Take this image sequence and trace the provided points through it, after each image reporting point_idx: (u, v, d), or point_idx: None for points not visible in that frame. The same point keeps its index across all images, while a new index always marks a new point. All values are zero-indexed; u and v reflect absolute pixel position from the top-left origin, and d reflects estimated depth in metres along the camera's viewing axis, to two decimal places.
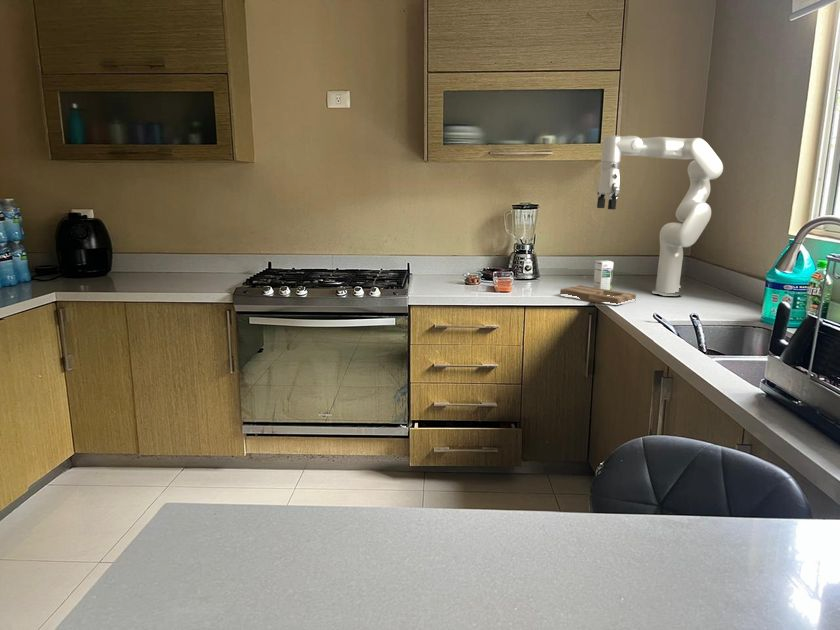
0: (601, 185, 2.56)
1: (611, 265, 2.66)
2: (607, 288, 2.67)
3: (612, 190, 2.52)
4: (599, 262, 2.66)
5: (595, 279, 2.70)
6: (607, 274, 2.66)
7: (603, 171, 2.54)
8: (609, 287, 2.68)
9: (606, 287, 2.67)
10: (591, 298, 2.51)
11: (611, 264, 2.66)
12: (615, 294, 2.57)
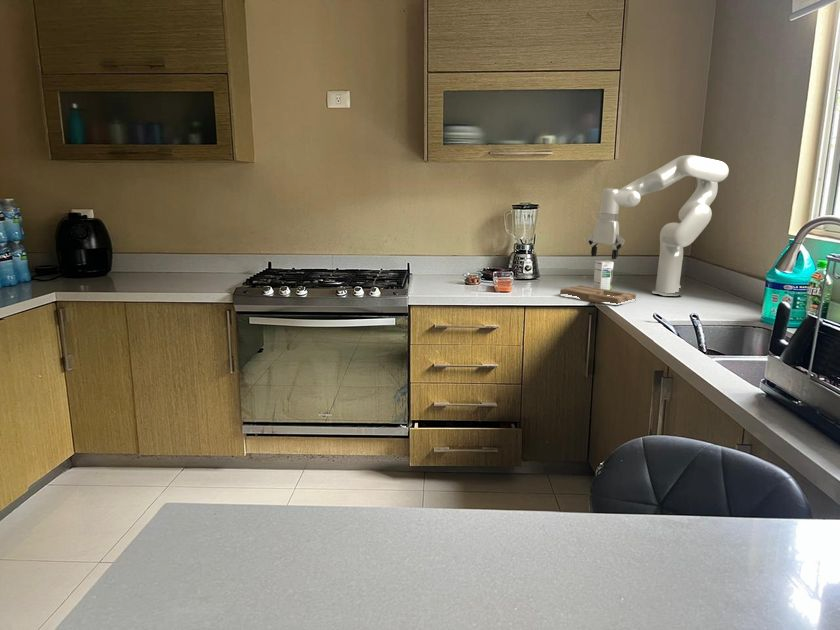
0: None
1: (611, 265, 2.66)
2: (607, 288, 2.67)
3: None
4: (599, 262, 2.66)
5: (595, 279, 2.70)
6: (607, 274, 2.66)
7: None
8: (609, 287, 2.68)
9: (606, 287, 2.67)
10: (591, 298, 2.51)
11: (611, 264, 2.66)
12: (615, 294, 2.57)
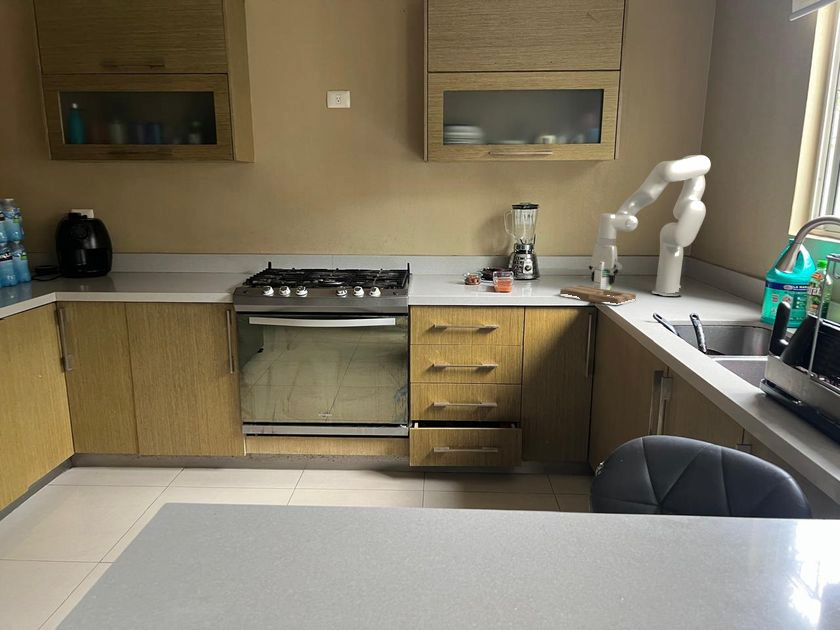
0: None
1: None
2: (607, 288, 2.67)
3: None
4: None
5: (595, 279, 2.70)
6: (607, 274, 2.66)
7: None
8: (609, 287, 2.68)
9: (606, 287, 2.67)
10: (591, 298, 2.51)
11: None
12: (615, 294, 2.57)
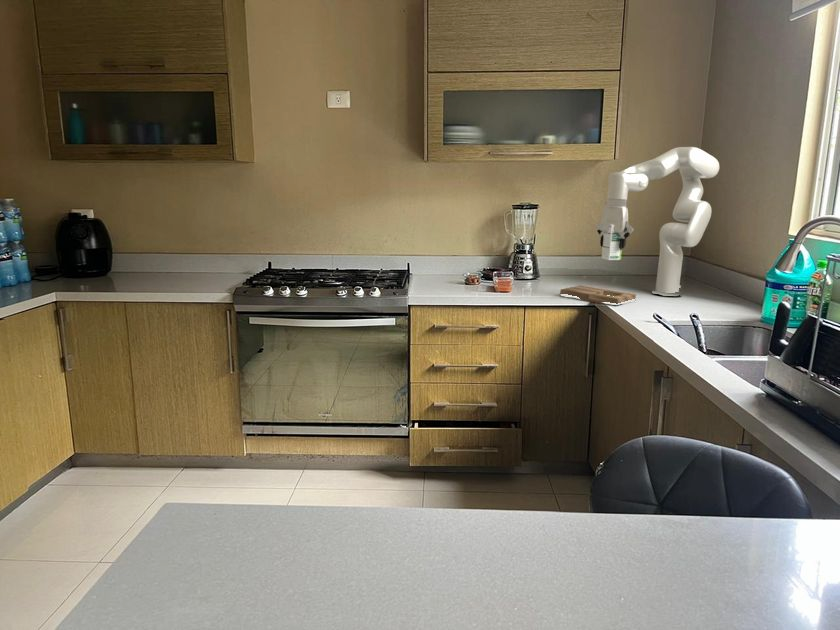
0: None
1: None
2: (617, 253, 2.49)
3: None
4: None
5: (604, 244, 2.52)
6: (617, 238, 2.48)
7: None
8: (619, 252, 2.49)
9: (616, 252, 2.49)
10: (591, 298, 2.51)
11: None
12: (615, 294, 2.57)
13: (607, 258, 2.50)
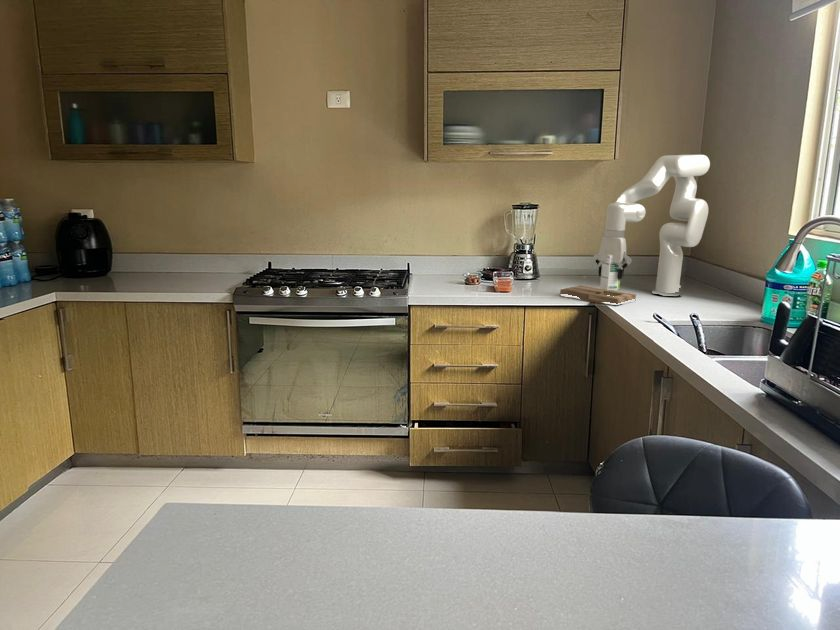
0: None
1: None
2: (615, 283, 2.50)
3: None
4: None
5: (602, 274, 2.53)
6: (615, 269, 2.49)
7: None
8: (617, 282, 2.51)
9: (614, 282, 2.50)
10: (591, 298, 2.51)
11: None
12: (615, 294, 2.57)
13: (606, 288, 2.51)
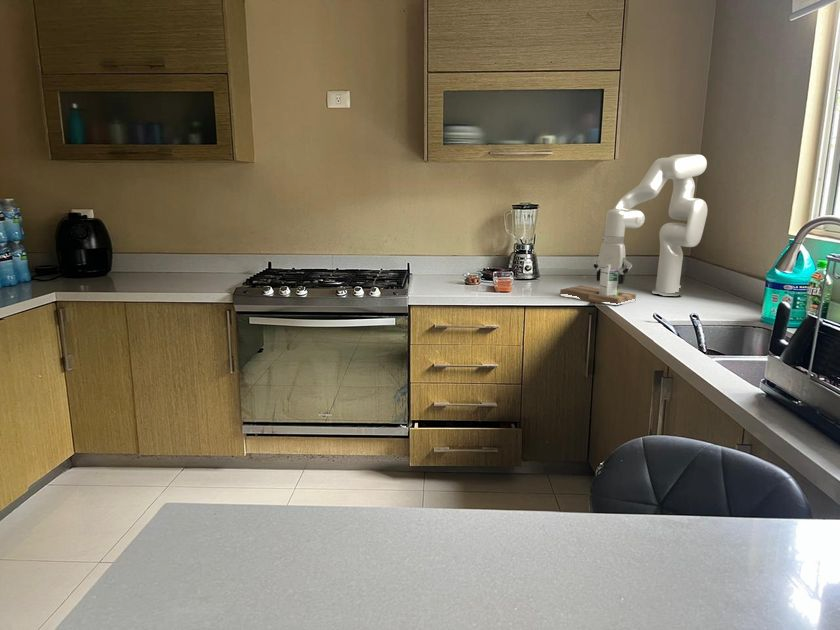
0: None
1: None
2: (614, 292, 2.52)
3: None
4: None
5: (601, 283, 2.54)
6: (614, 278, 2.50)
7: None
8: (616, 291, 2.52)
9: (613, 291, 2.51)
10: (591, 298, 2.51)
11: None
12: None
13: None
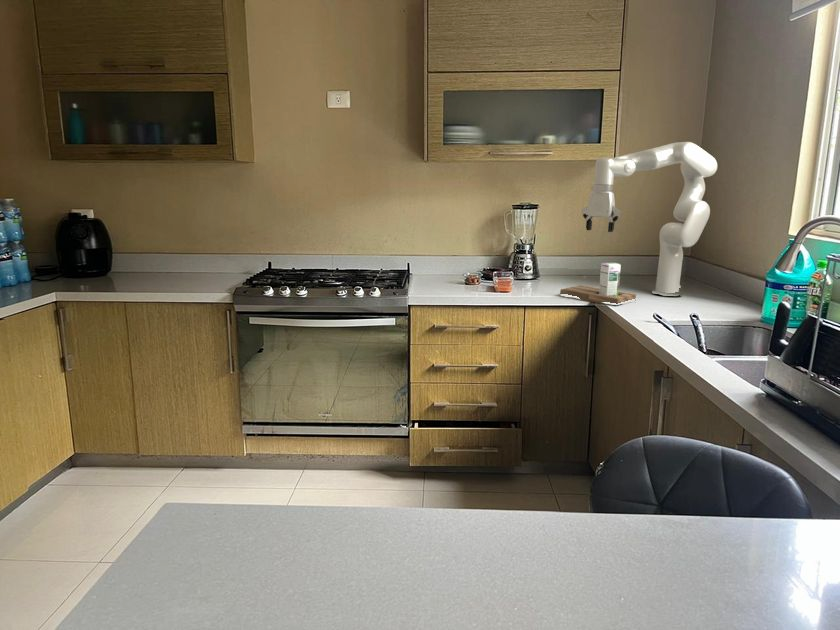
0: None
1: (618, 268, 2.50)
2: (614, 292, 2.52)
3: None
4: (605, 265, 2.51)
5: (601, 283, 2.54)
6: (614, 278, 2.50)
7: None
8: (616, 291, 2.52)
9: (613, 291, 2.51)
10: (591, 298, 2.51)
11: (618, 266, 2.50)
12: None
13: None
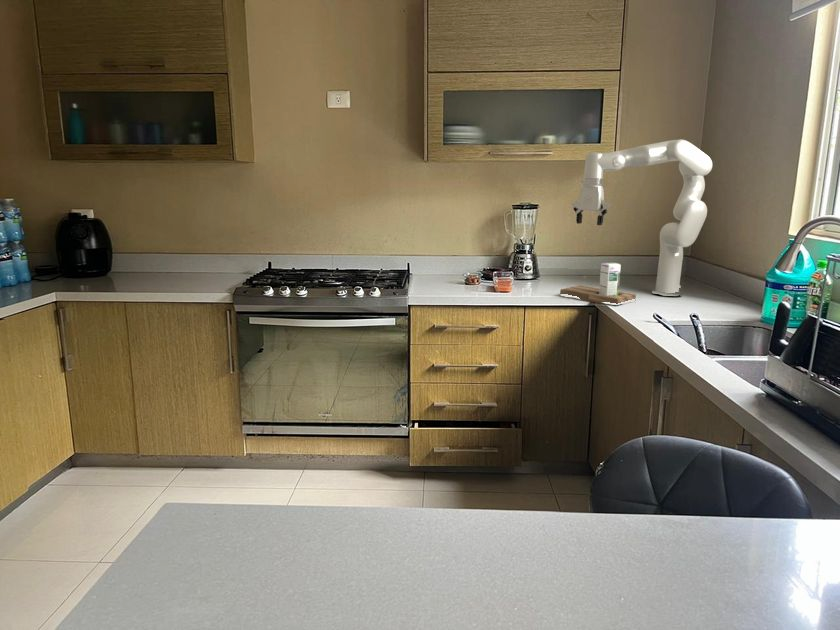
0: None
1: (618, 268, 2.50)
2: (614, 292, 2.52)
3: None
4: (605, 265, 2.51)
5: (601, 283, 2.54)
6: (614, 278, 2.50)
7: None
8: (616, 291, 2.52)
9: (613, 291, 2.51)
10: (591, 298, 2.51)
11: (619, 266, 2.50)
12: None
13: None
